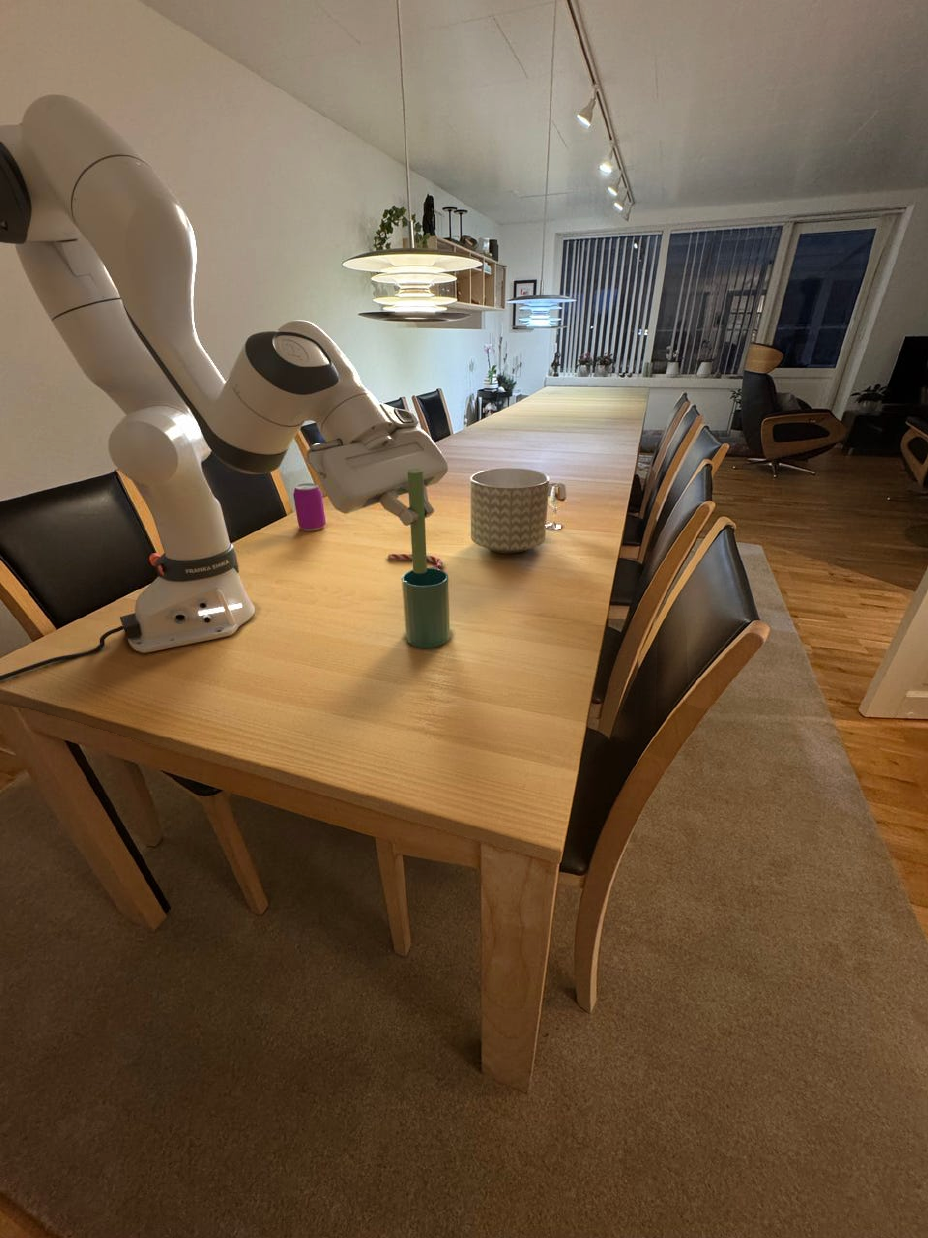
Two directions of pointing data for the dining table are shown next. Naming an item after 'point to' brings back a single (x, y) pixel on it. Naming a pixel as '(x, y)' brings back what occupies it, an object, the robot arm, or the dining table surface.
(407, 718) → the dining table surface
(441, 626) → the tin can
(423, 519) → the straw
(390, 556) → the candy cane
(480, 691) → the dining table surface
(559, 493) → the wineglass
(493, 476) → the planter
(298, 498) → the beverage can
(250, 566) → the dining table surface
